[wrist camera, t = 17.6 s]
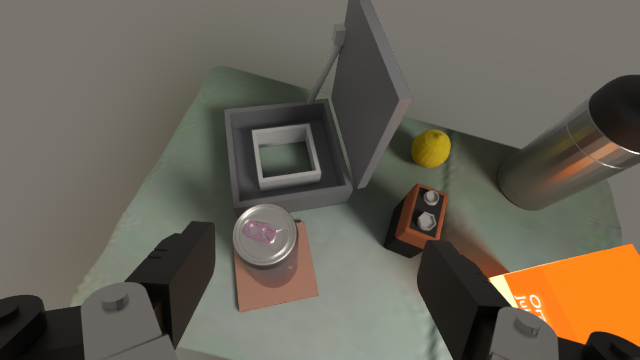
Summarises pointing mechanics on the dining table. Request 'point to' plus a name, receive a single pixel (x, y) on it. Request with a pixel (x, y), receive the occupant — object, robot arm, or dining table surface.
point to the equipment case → (324, 123)
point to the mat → (296, 289)
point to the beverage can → (267, 244)
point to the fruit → (430, 148)
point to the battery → (416, 221)
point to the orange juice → (581, 294)
